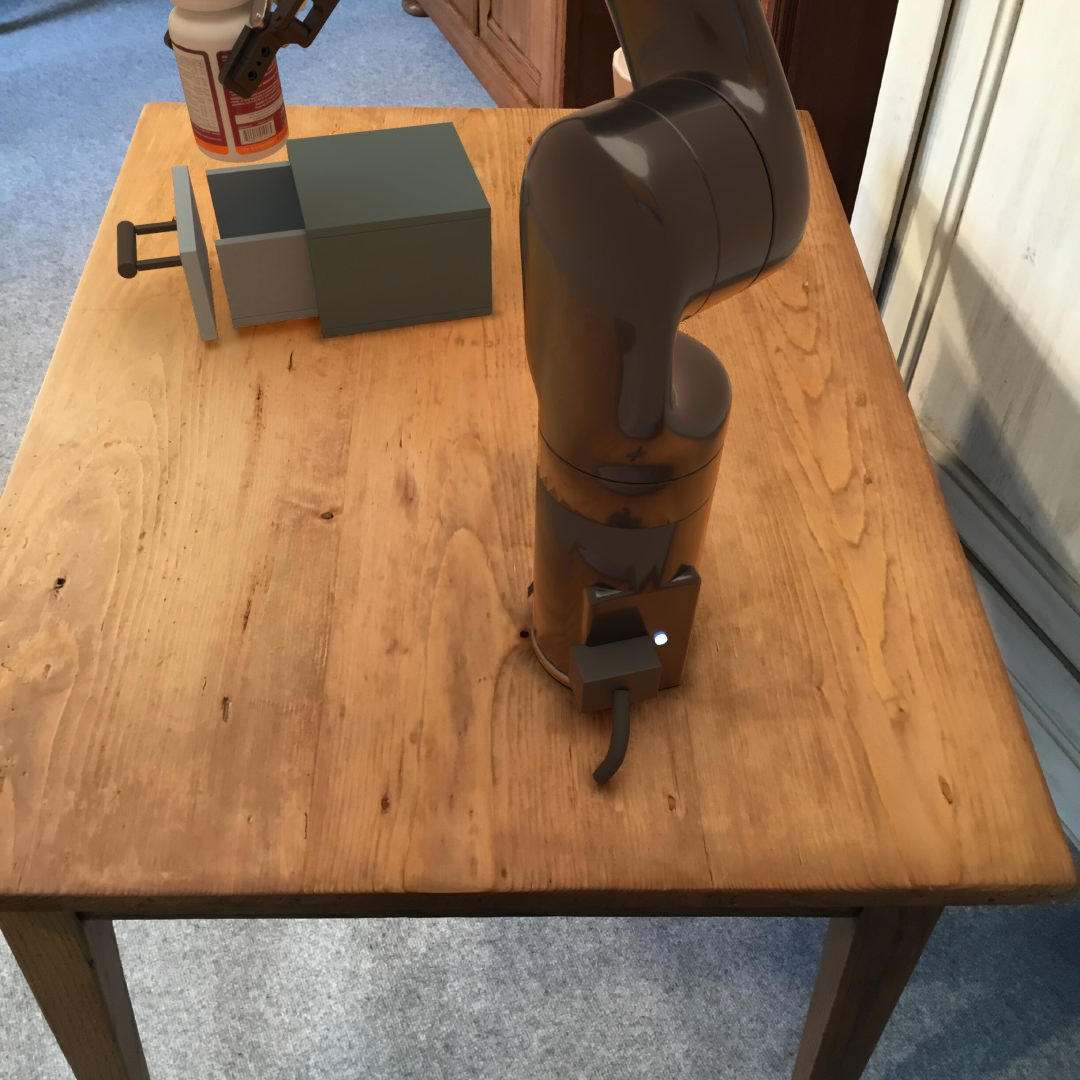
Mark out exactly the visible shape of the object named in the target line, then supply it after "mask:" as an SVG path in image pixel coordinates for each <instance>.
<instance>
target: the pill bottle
mask: <svg viewBox="0 0 1080 1080" xmlns="http://www.w3.org/2000/svg"><path fill="white" fill-rule="evenodd" d="M169 2H170V3H171V4H172V5H174V6H173V8H172V9H171V11H170V13H169V15H168V19H167V30H168V29H169V34H170V38H171V42H172V46H173V50H174V51H173V50H172V51H173V53H174V58H175V63H176V67H177V71H178V75H179V79H180V83H181V87H182V91H183V92H182V93H183V95H184V99H185V104H186V109H187V113H188V116H189V121H190V126H191V130H192V134H193V136H194V137H193V138H194V140H195V144H196V146H197V148H198V150H199V151H200V152H201V153H202V154H203V155H205V157H208V158H210V159H213V160H214V161H217V162H224V163H231V164H245V163H253V162H257V161H260V160H261V161H262V160H264V159H266V158H268V157H270V156H273V155H274V154H276V153H278V152H279V151H280V150H281V149H282V148H283V147H284V146H286V142H287V140H289V135H290V130H289V124H288V118H287V112H286V104H285V99H284V95H283V89H282V83H281V78H280V77H281V76H280V71H279V66H278V61H277V54H276V55H275V57H274V59H273V61H272V63H271V65H270V66H269V68H268V70H267V71H266V74H265V75H264V77H263V78H262V81H261V83H260V85H259V86H258V88H257V89H256V90H255V91H254V93H253V95H252V96H251V97H250V98H248V99H243V98H241V97H240V96H238V95H237V94H235V93H234V92H232V91H230V90H229V89H227V88H226V87H224V86H223V85H222V84H220V82H219V80H218V75H219V72H220V70H221V69H222V67H223V65H224V63H225V61H226V59H227V57H228V56H229V54H230V52H231V50H232V48H233V46H234V44H235V42H236V41H237V39H238V37H239V35H240V33H241V31H242V29H243V28H244V26H245V25H247V26H248V27H250V28H251V29H252V28H253V27H252V26H251V25H250V23H249V19H250V14H251V9H252V4H253V0H169Z"/></svg>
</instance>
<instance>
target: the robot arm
mask: <svg viewBox="0 0 1080 1080" xmlns="http://www.w3.org/2000/svg"><path fill="white" fill-rule="evenodd" d="M310 1H311V2H312V6H311V8H310V10H309V11H308V13H307V15H306V16H305V17H304V19H303V20H300V19H299V18H298V15H299V12H304V11H305V10H306V8H307V3H308V0H253V4H252V9H251V14H250V19H249V23H250V25H251V26H252V27H253V28H252V29H251V28H250V27H248V26H247V25H245V26H244V28H243V29H242V31H241V33H240V35H239V37H238V39H237V41H236V42H235V44H234V46H233V48H232V50H231V52H230V54H229V56H228V57H227V59H226V61H225V63H224V65H223V67H222V69H221V70H220V72H219V75H218V80H219V82H220V84H222V85H223V86H224V87H226V88H227V89H229V90H230V91H232V92H234V93H235V94H237V95H238V96H240V97H241V98H243V99H248V98H250V97H251V96H252V95H253V93H254V91H255V90H256V89H257V88H258V86H259V85H260V83H261V81H262V78H263V77H264V75H265V74H266V71H267V70H268V68H269V66H270V65H271V63H272V61H273V59H274V57H275V55H276V56H277V54H278V52H279V50H280V49H281V48H282V49H285V48H287V47H289V46H290V45H298V46H299V47H300V48H302V49H307V48H309V47H310V46H311V45H312V44H313V43H314V41H315V39H316V38H317V37H318V35H319V33H320V32H321V30H322V28H323V27H324V26H325V24H326V23H327V21H328V20H329V19H330V17H331V15H332V13H333V11H334V10H335V9H336V8H337V6H338V4H339V3H340V1H341V0H310ZM604 2H605V5H606V7H607V10H608V13H609V15H610V18H611V21H612V24H613V26H614V30H615V32H616V35H617V39H618V42H619V45H620V47H621V48H622V51H623V54H624V57H625V61H626V65H627V68H628V72H629V75H630V79H631V83H632V88H633V91H630V92H628V93H625V94H622V95H620V96H617V97H615V96H614V97H611V98H609V99H605V100H602V101H600V102H598V103H595V104H592V105H589V106H586V107H584V108H581V109H577V110H575V111H573V112H571V113H569V114H566V115H564V116H562V117H560V118H557V119H556V120H554V121H553V122H551V123H549V124H548V125H547V126H546V127H545V128H543V130H542V131H541V132H540V133H539V134H538V135H537V137H536V138H535V140H534V142H533V143H532V145H531V147H530V150H529V152H528V154H527V156H526V159H525V164H524V167H523V170H522V171H523V172H522V175H521V183H520V190H519V205H518V229H519V249H520V250H519V253H520V268H521V269H520V270H521V284H522V307H523V308H522V309H523V328H524V332H523V333H524V348H525V354H526V360H527V365H528V369H529V373H530V376H531V380H532V383H533V386H534V390H535V394H536V398H537V442H536V443H537V445H536V446H537V447H536V448H537V449H536V468H535V469H536V471H535V508H534V541H533V542H534V543H533V544H534V546H533V579H532V582H531V583H530V584H529V585H528V586H527V590H526V591H527V595H526V597H527V600H529V598H530V597H531V596H532V597H533V598H532V613H531V617H530V639H531V645H532V648H533V651H534V653H535V656H536V657H537V660H538V661H539V663H540V664H541V665H542V667H543V668H544V669H545V670H546V672H548V674H549V675H551V676H552V677H553V678H554V679H555V680H556V681H558V682H559V683H561V684H562V685H564V686H566V687H567V688H569V689H571V690H572V694H573V696H574V698H575V702H576V704H577V707H578V710H579V713H580V714H581V715H584V714H588V713H593V712H598V711H603V710H607V709H611V733H610V734H611V735H610V740H609V746H608V749H607V753H606V755H605V757H604V759H603V760H602V761H601V762H600V763H599V765H598V766H597V767H596V768H595V769H594V771H593V772H592V774H591V775H592V780H593V781H594V782H595V783H597V784H598V785H601V786H604V785H607V784H608V783H609V782H610V780H612V778H613V776H614V775H615V774H616V773H617V772H618V770H619V769H620V768H621V766H622V765H623V762H624V760H625V758H626V754H627V751H628V748H629V742H630V731H631V704H635V703H639V702H644V701H648V700H653V699H656V698H657V697H658V694H659V690H661V689H667V688H670V687H675V686H678V685H680V684H682V682H683V677H684V672H685V667H686V662H687V657H688V653H689V647H690V644H691V639H692V632H693V627H694V624H695V618H696V613H697V608H698V603H699V599H700V593H701V590H702V589H701V588H702V585H703V584H702V583H703V581H702V576H701V575H700V568H701V562H702V558H703V552H704V547H705V543H706V537H707V531H708V526H709V522H710V517H711V511H712V507H713V506H712V505H713V501H714V495H715V491H716V485H717V480H718V477H719V472H720V466H721V463H722V462H721V461H722V456H723V450H724V446H725V441H726V437H727V433H728V429H729V422H730V418H731V413H732V406H733V388H732V387H733V386H732V382H731V378H730V376H729V372H728V370H727V369H726V367H725V365H724V364H723V362H722V360H721V359H720V358H719V357H718V355H716V353H714V351H713V350H712V349H710V348H709V347H708V346H707V345H705V344H704V343H703V342H702V341H700V340H699V339H697V338H695V337H693V336H691V335H690V334H689V333H686V332H683V331H682V330H679V328H680V324H681V323H682V322H685V321H687V320H689V319H691V318H693V317H695V316H697V315H699V314H701V313H703V312H705V311H707V310H708V309H711V308H712V307H714V306H717V305H719V304H721V303H722V302H725V301H726V300H729V299H730V298H733V297H734V296H736V295H738V294H740V293H742V292H743V291H745V290H747V289H749V288H751V287H753V286H755V285H757V284H759V283H760V282H762V281H764V280H766V279H768V278H769V277H772V276H773V275H775V274H776V273H777V272H778V271H780V270H781V269H782V268H784V267H785V266H786V265H787V264H788V263H789V262H790V261H791V260H792V258H793V257H794V256H795V254H796V253H797V251H798V250H799V248H800V246H801V243H802V241H803V238H804V237H805V234H806V231H807V227H808V222H809V216H810V210H811V192H812V191H811V190H812V189H811V176H810V168H809V161H808V154H807V151H806V149H807V148H806V145H805V140H804V139H805V138H804V135H803V131H802V127H801V123H800V119H799V115H798V112H797V109H796V105H795V103H794V99H793V96H792V92H791V89H790V86H789V83H788V81H787V78H786V74H785V72H784V71H785V70H784V67H783V65H782V62H781V59H780V56H779V53H778V49H777V47H776V44H775V41H774V38H773V35H772V32H771V29H770V27H769V24H768V20H767V17H766V15H765V12H764V9H763V6H762V3H761V0H604ZM273 4H274V5H276V6H275V9H274V10H273V11H272V8H273ZM163 43H164V45H165V46H166V47H167V48H169V49H170V50H172V52H174V50H173V46H172V42H171V38H170V34H169V29H168V28H167V30H166V32H165V33H164V35H163Z"/></svg>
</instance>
